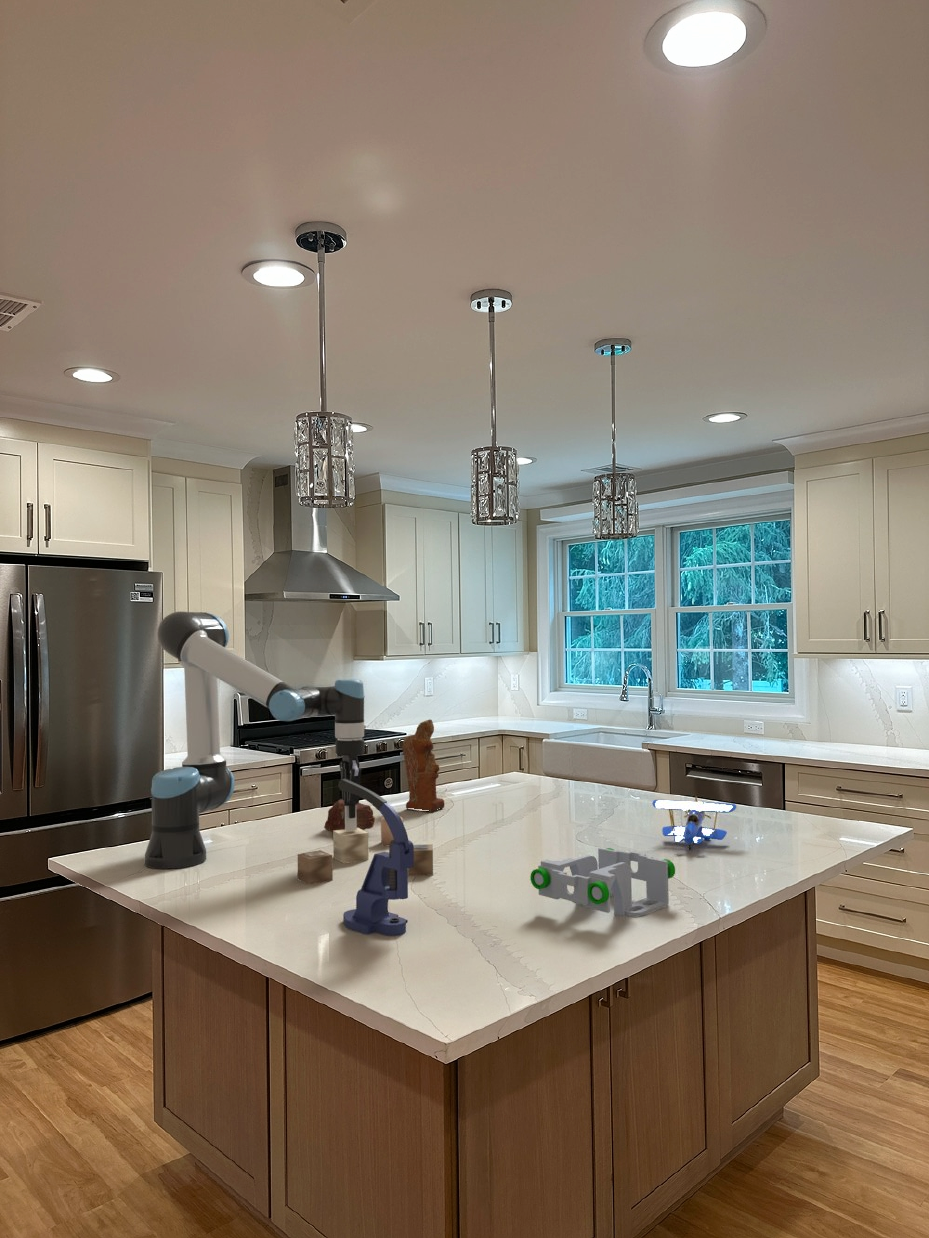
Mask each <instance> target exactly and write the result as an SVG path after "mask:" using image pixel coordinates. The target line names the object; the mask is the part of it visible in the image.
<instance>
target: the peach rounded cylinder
mask: <svg viewBox="0 0 929 1238" xmlns="http://www.w3.org/2000/svg"><path fill="white" fill-rule="evenodd" d="M400 818H401V820H402V822H403V816H400ZM403 823H404V822H403ZM391 840H394V838H393V836H392V833H391V831H390V828H389V826H388V824H387V822H386V820H385V819H384V817H383V816H382V817H380V844H381V845H382V844H383V846H386V845H389V843H390V841H391Z"/></svg>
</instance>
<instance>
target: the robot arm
mask: <svg viewBox="0 0 929 1238" xmlns="http://www.w3.org/2000/svg"><path fill="white" fill-rule="evenodd" d="M158 625H159V626H158V628H157V632H156V633H157V636H156V637H157V641H158V643H159V646H161V648H162V649H163V650H164V652H166V653H167V654H169V655H170V656H172V657H173V658H175V659H177V662H178V664H179V665H181V666H182V668H183V670H184V672H183V673H184V692H185V693H184V695H185V696H184V697H185V718H186V719H185V720H186V721H185V723H186V744H187V745H186V750H187V756H186V757H185V759H184V760H183V761H182V762H181V766H179V767H178V766H177V767H172V768H167V769H164V770H162V771H159V772H157V773H155V775H154V776H153V777H152V779H151V788H150V793H151V835H150V838H149V841H148V844H147V847H146V849H145V850H146V851H145V853H144V866H145V867H147V868H150V869H151V868H152V869H158V868H159V869H161V868H165V869H164V870H166V869H167V870H169V869H170V868H171V869H181V868H187V867H192V866H197V865H199V864H201V863H204V862H206V861H207V848H206V846H205V842H204V840H203V836H202V834H201V831H200V814H203V813H205V812H209V811H212V810H216V809H218V808H220V807H221V806H223V805H225V804H226V803H227V802H228V801H229V800H230V799H231V797H232V796H233V794H234V791H235V786H236V785H235V783H236V782H235V777H234V774H233V772H232V771H230V768H229V767H227V759H226V757H225V756H224V755H222V753H221V745H220V744H221V741H220V719H219V718H220V717H219V692H218V691H219V690H218V680H220V681H222V682H223V683H225V684H227V685H228V686H230V687H232V688H233V689H236V690H237V691H239V692H240V693H241V694H244V695H246V696H247V697H249V698H250V699H252V700H254V701H255V702H257V703H259V704H261V705H262V706H263V707H266V708H267V709H269V711H270V713H271V715H272V716H273V718H274V719H276V720H278V721H281V722H293V721H296V720H300V719H305V718H310V717H316V716H317V717H320V716H321V717H322V716H323V717H325V716H331V717H332V716H333V717H334V737H335V739H336V740H335V743H334V744H335V746H334V747H335V750H334V751H335V754H336V755H339V756H342V761H340V763H339V772H340V780H341V779H347V780H349V781H352V782H354V783H356V784H358V785H360V786H361V775H362V768H361V767H360V761H359V759H358V755H363V754H364V753H365V750H366V749H365V740H364V737H365V730H366V729H367V725H366V724H365V689H364V683H363V681H362V680H361V679H358V678H357V679H356V678H354V679H353V678H351V679H350V678H349V679H347V678H346V679H344V678H343V679H336V680H335V681H334V686H329V687H328V686H326V687H324V686H302V687H301V686H300V687H299V686H297V687H295V688H294V687H293V686H291V685H290V684H288V683H285V682H284V681H283V680H281V679H279V678H278V677H277V676H275V675H272V674H271V673H269V672H267V671H266V670H264V669H262V668H260V667H259V666H257V665H255V664H254V663H252V662H250V661H249V660H247V659H245V658H243V657H242V656H240V655H238V654H237V653H235V652H233V651H232V650H229V649H228V648H226V647H227V646H228V643H229V641H230V639H229V638H230V633H229V630H228V627H227V625H226V623H225V622H224V620H223V619H221V617H219V616H217V615H215V614H213V613H209V612H201V611H200V612H199V611H198V612H197V611H194V612H193V611H174V612H171V613H169V614H167V615H166V616H165V617H163V619H162V620H161V621H160V623H159V624H158ZM341 797H342V798H341V799H342V800H344V806H345V830H346V831H353V830H357V813H356V805H357V804H359V803H360V797H359V796H358V795H355V794H352V793H348V792H345V791H342V790H341ZM196 864H197V865H196ZM168 868H169V869H168ZM159 869H158V870H159ZM171 869H170V870H171ZM161 870H162V869H161Z"/></svg>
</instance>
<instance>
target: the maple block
mask: <svg viewBox="0 0 929 1238" xmlns="http://www.w3.org/2000/svg"><path fill="white" fill-rule="evenodd" d="M332 832H333V835H332V837H333V840H332V842H333V854H332V857H333V858H334V859H335V860H337V861H338V862H340V863H341V862H342V864H348V863H347V862H349V863H355V862H354V861H357V862H363V861H364V862H365V861H369V832H368V831H365V830H362V829H360V828H357V830H353V831H346V830H345V829H344V830H336V831H332Z"/></svg>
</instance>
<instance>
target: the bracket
mask: <svg viewBox="0 0 929 1238" xmlns="http://www.w3.org/2000/svg"><path fill="white" fill-rule="evenodd" d="M597 850H598V851H597V852H598V853H597V855H598V856H597V857H598V860H597V858H596V857H595V856H594V855H589V854H588V855H584V856H581V857H580V856H579V857H577V858H571V857H569V858H565V859H562V860H550V859H545V860H540V865H538V868H535V869H533V870H532V871H531V872H530V883H531V884H532V886H533V887H534V889H537V890H538V895H539V896H542V897H545V898H549V899H550V898H551V899H553V900H560V899H561V900H566V901H569V902H573V903H575V905H579V906H583V907H585V906H586V908H587V909H592V910H595V911H599V912H603V913H607V914H608V913H611V897H612V896H613V914H614V915H618V916H621V917H624V916H627V917H642V916H646V915H648V914H650V913H653V912H655V911H658V910H660V909H662V908H666V907H667V906H669V900H670V898H669V880H670V879H672V878H673V877H674V876H675V875H676V867H675V866H676V865H674V863H673V862H672V861H671V860H670V859H667V858H664V859H658V858H654V857H653V856H649V855H647V854H645V853H641V852H635V851H631V850H630V851H629V850H628V851H623V850H619V849H617V850H615V849H614V848H611V847H607V848H604V847H600V848H599V847H598V848H597ZM632 862H636V863H637V870H636V871H634V870H633V869H632V866H631V863H632ZM568 867H569V869H570V873H571V875H570V874H568V872H566V871H564V870H565V868H568ZM632 879H635V880H639V881H643V882H646V885H645V886H646V888H645V889H646V897H645V898H642V899H640V900H636V901H634V902H632V901H633V900H632V899H633V897H632V893H633V892H632ZM568 886H570V887H573V893H571V892H570V891H569V890H568Z"/></svg>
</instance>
